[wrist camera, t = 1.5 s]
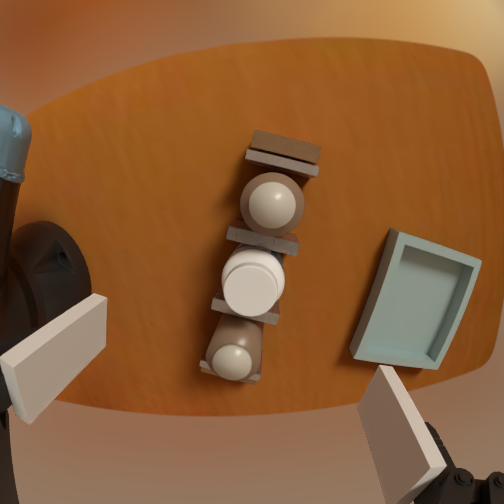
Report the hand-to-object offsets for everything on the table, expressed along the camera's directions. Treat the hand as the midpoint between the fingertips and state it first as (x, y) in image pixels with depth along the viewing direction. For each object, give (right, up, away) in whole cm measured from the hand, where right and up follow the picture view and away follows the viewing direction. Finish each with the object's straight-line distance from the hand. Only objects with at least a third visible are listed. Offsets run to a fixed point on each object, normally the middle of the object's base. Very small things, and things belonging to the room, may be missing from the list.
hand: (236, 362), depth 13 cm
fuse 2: (+3, +10, +16) cm, 19 cm away
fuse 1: (0, -2, +19) cm, 19 cm away
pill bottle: (+1, +4, +18) cm, 18 cm away
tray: (+19, -1, +17) cm, 26 cm away
